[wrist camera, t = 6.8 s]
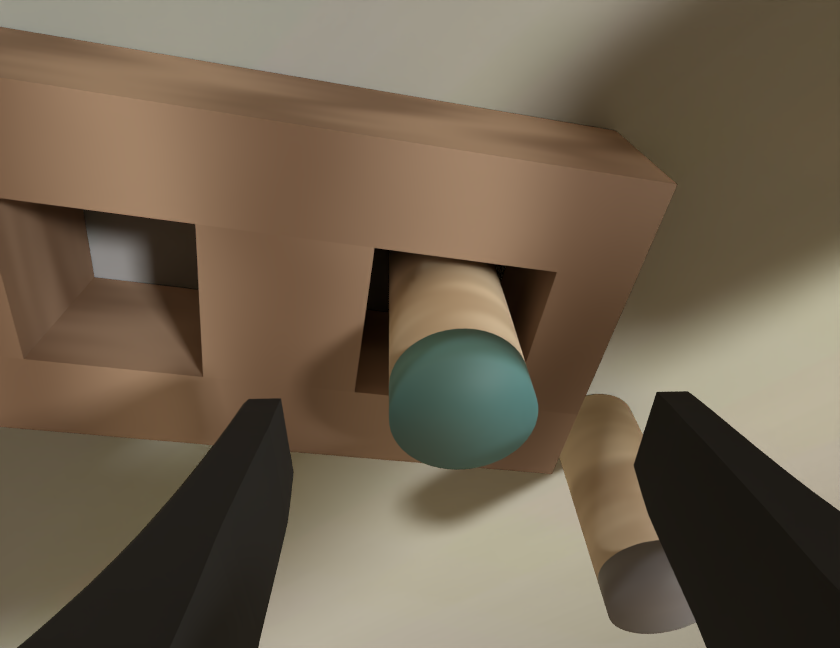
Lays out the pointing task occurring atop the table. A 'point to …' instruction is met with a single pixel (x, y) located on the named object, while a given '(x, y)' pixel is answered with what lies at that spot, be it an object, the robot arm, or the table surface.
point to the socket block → (288, 244)
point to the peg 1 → (454, 364)
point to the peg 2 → (620, 520)
